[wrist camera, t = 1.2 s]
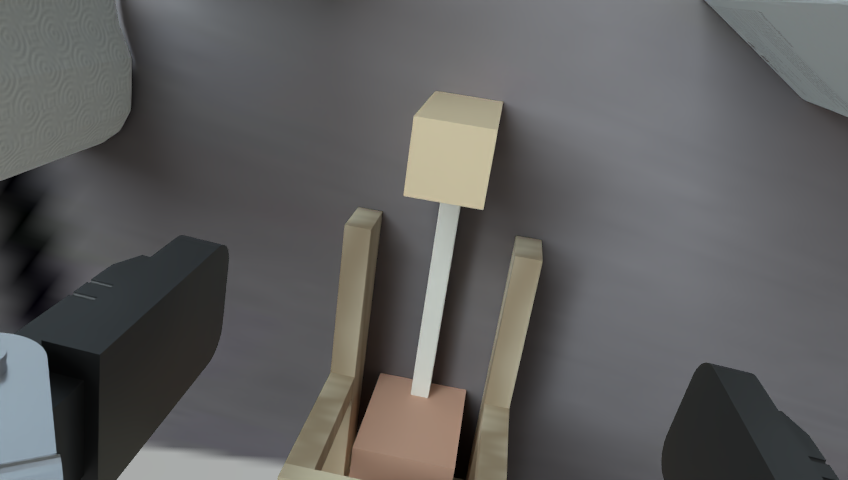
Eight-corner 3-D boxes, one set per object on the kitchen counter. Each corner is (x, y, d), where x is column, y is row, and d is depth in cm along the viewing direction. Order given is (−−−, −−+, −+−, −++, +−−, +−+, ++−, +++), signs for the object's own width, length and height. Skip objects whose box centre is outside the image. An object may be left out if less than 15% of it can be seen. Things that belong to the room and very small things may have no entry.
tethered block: (521, 104, 28) (520, 133, 22) (451, 464, 36) (438, 552, 30) (417, 87, 28) (391, 112, 23) (370, 447, 36) (342, 531, 30)
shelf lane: (541, 240, 30) (548, 348, 21) (483, 500, 36) (469, 671, 27) (358, 207, 31) (288, 298, 22) (331, 468, 37) (268, 624, 28)
